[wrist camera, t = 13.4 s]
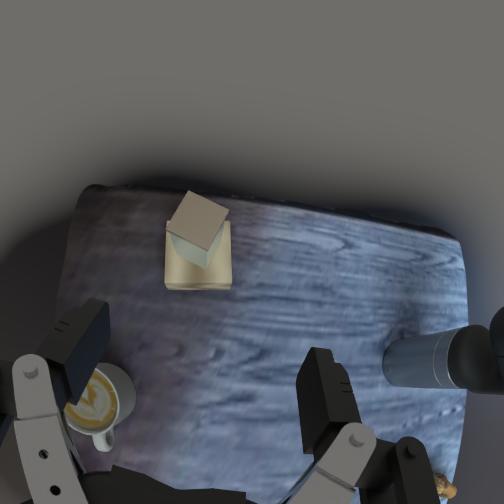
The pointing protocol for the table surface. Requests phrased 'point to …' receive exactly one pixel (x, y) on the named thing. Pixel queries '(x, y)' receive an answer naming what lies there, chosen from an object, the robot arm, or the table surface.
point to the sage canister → (197, 229)
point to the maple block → (195, 277)
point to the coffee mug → (103, 405)
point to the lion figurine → (444, 486)
